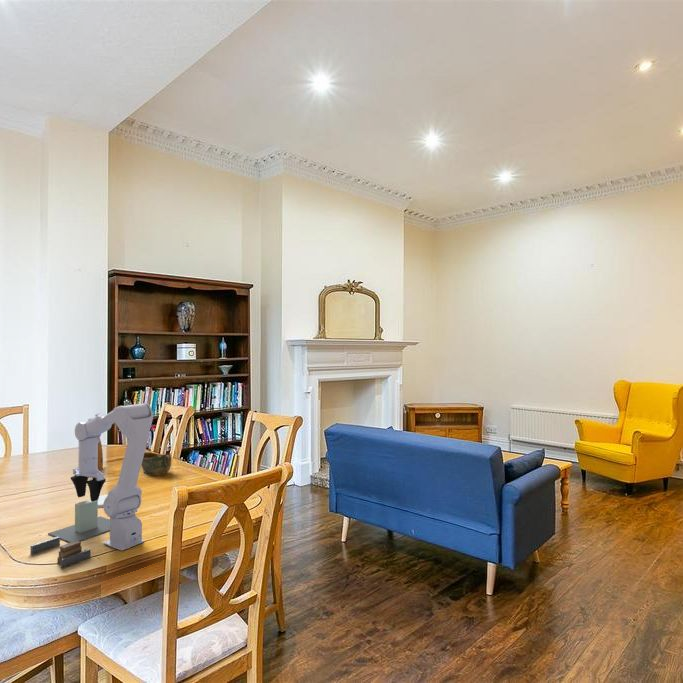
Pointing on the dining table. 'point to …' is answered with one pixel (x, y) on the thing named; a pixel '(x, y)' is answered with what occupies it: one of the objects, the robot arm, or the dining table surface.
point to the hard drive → (101, 500)
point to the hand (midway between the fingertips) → (87, 498)
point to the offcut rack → (64, 561)
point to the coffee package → (100, 456)
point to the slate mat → (71, 535)
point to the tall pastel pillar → (86, 515)
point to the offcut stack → (69, 550)
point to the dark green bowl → (156, 464)
